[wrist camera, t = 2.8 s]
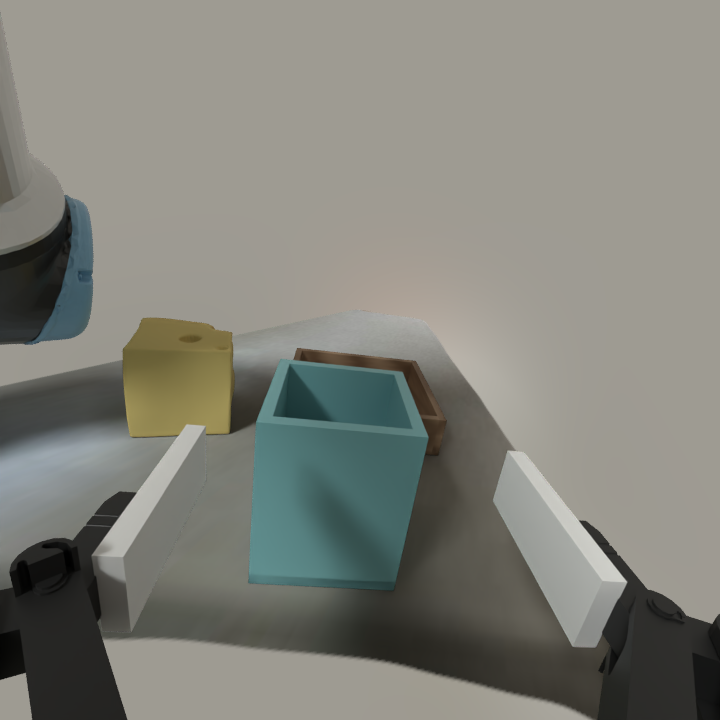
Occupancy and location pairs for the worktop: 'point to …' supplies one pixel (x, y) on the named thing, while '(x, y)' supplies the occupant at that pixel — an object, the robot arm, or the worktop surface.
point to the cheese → (178, 378)
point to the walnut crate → (414, 379)
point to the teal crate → (334, 476)
